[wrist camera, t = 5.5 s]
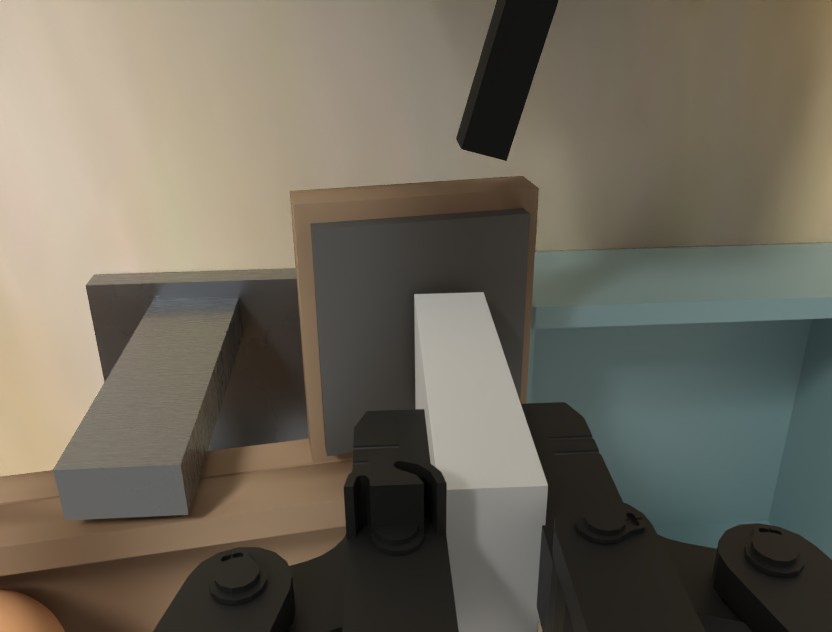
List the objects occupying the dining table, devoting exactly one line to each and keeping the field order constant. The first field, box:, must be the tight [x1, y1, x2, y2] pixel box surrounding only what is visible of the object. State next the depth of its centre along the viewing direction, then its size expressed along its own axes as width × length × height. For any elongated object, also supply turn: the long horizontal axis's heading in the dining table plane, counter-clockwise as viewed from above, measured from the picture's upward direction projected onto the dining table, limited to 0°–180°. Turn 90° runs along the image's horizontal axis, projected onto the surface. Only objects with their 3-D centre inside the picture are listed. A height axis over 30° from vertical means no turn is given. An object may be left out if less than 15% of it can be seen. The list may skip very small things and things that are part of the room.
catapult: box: [0, 176, 539, 632], centre depth 16 cm, size 20×12×4 cm, turn 92°
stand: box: [53, 269, 309, 521], centre depth 21 cm, size 6×10×9 cm, turn 1°
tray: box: [526, 243, 832, 622], centre depth 23 cm, size 11×11×6 cm
